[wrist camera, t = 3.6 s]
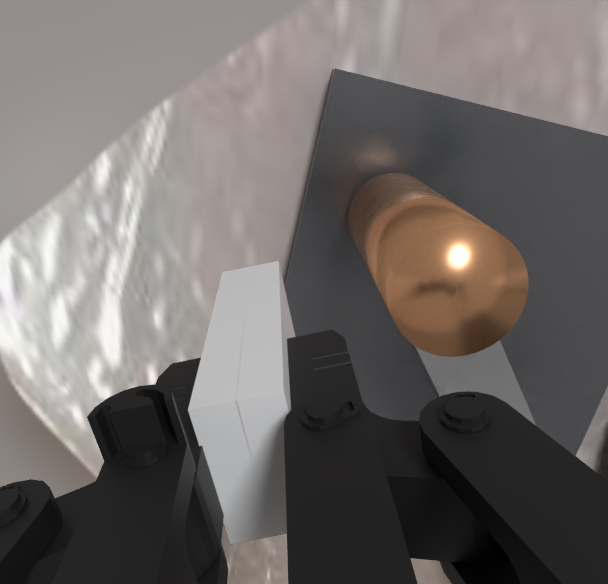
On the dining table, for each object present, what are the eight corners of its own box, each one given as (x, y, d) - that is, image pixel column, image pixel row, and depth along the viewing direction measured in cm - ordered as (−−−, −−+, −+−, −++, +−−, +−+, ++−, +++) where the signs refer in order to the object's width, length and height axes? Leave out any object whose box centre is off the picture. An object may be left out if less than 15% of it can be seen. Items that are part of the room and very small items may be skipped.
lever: (589, 525, 29) (718, 706, 21) (499, 563, 30) (588, 753, 21) (431, 147, 22) (527, 186, 14) (317, 207, 23) (341, 278, 14)
